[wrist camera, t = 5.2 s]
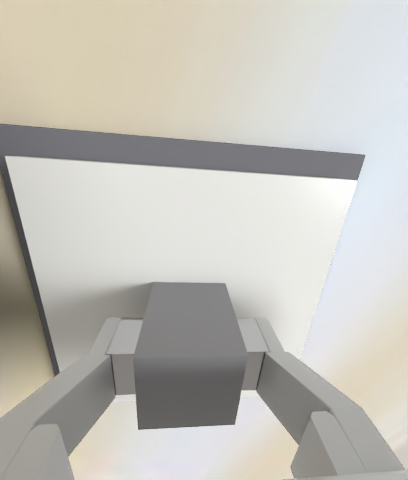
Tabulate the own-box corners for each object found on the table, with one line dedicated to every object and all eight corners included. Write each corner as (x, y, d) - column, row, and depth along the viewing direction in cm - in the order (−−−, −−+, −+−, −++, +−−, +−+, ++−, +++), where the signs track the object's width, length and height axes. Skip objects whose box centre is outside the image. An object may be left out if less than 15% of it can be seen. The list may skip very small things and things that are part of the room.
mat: (357, 155, 9) (365, 154, 8) (287, 381, 14) (290, 387, 13) (-2, 124, 7) (-12, 122, 7) (64, 388, 12) (61, 396, 12)
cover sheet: (339, 178, 9) (486, 195, 4) (281, 378, 13) (326, 484, 9) (28, 156, 7) (-184, 150, 3) (77, 385, 12) (15, 511, 7)
